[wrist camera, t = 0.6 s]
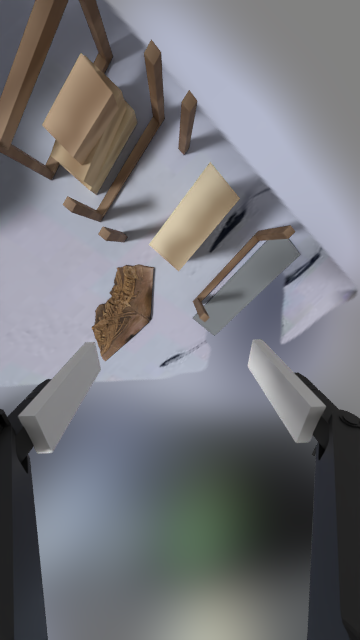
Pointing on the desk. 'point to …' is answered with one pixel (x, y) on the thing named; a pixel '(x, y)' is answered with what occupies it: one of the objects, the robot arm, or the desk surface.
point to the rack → (37, 38)
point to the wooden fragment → (124, 309)
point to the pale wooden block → (194, 217)
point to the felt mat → (248, 283)
